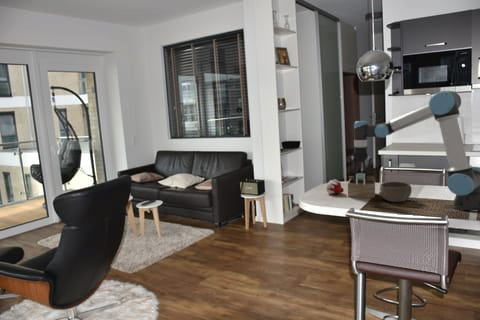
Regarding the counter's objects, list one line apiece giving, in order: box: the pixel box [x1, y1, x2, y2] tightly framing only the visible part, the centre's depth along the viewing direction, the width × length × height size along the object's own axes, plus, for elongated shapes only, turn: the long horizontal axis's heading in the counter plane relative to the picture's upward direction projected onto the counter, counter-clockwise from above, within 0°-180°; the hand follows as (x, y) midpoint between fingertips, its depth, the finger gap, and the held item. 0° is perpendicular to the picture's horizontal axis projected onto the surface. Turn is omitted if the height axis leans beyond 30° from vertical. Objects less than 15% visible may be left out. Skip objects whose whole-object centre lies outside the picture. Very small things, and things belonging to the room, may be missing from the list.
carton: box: [347, 178, 376, 199], centre depth 254 cm, size 14×16×9 cm
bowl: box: [378, 181, 413, 203], centre depth 236 cm, size 17×18×10 cm
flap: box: [348, 172, 376, 180], centre depth 249 cm, size 22×15×4 cm
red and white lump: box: [326, 178, 344, 195], centre depth 259 cm, size 9×11×15 cm
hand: (360, 184), depth 242 cm, fingers closed on flap, 4 cm apart
